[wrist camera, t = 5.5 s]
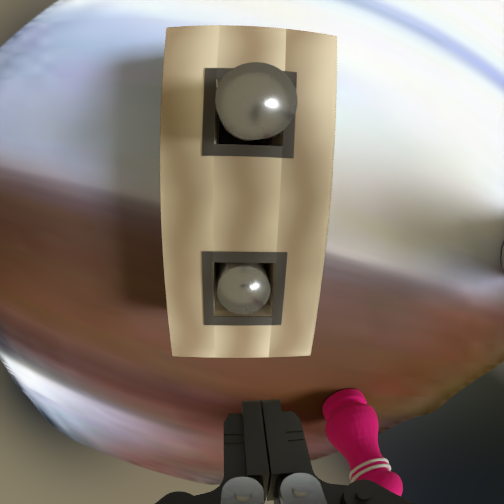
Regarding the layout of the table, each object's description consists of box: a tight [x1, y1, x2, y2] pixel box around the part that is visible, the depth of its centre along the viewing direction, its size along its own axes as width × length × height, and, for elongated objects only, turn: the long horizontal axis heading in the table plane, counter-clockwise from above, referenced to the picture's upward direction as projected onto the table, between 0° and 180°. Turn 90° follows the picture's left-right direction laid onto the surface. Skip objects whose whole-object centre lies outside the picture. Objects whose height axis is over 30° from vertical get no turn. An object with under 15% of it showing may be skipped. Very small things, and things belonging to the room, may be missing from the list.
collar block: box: [160, 25, 337, 358], centre depth 25 cm, size 12×26×8 cm, turn 178°
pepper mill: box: [322, 389, 403, 496], centre depth 31 cm, size 7×7×20 cm
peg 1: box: [215, 62, 298, 141], centre depth 18 cm, size 4×4×8 cm
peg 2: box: [217, 262, 270, 315], centre depth 27 cm, size 4×4×8 cm
